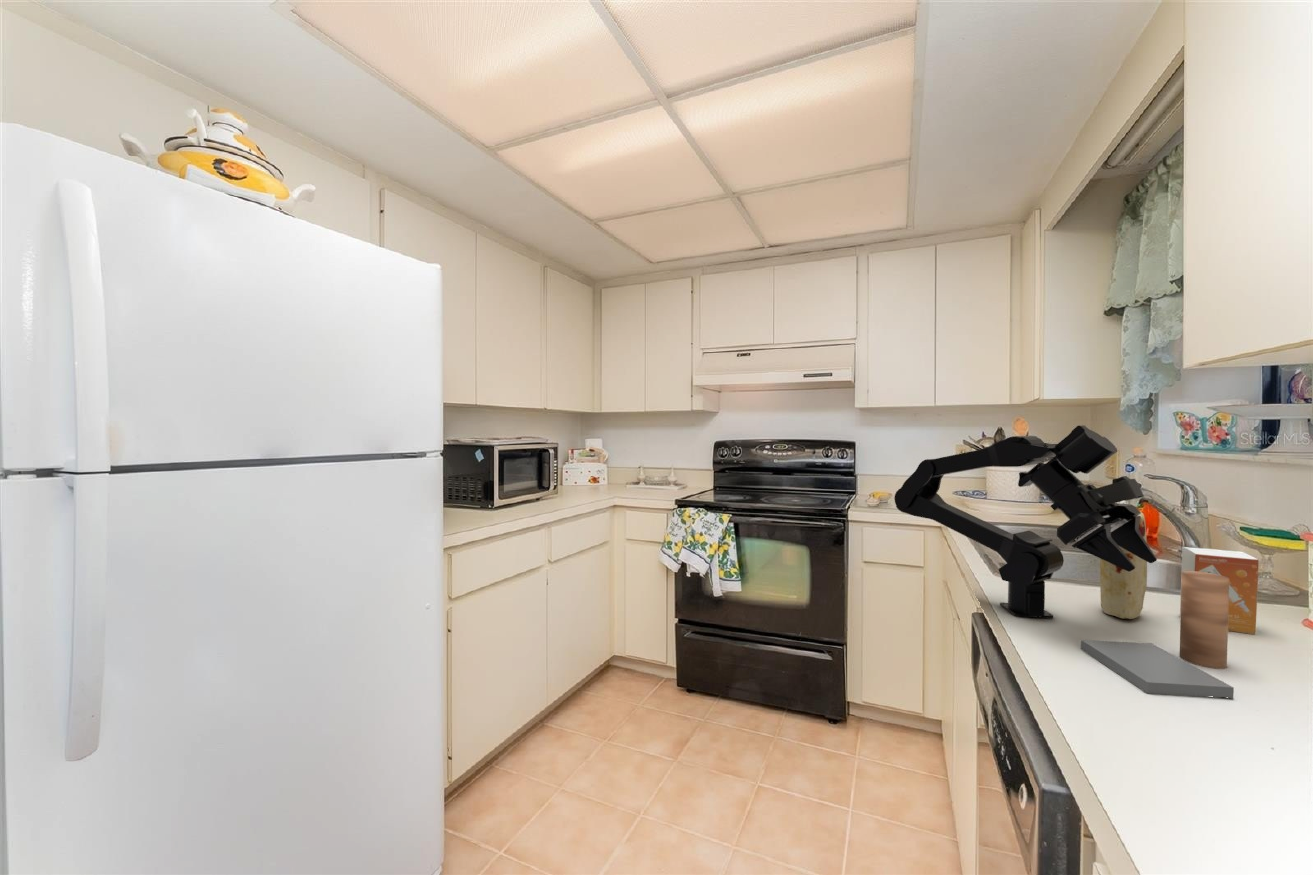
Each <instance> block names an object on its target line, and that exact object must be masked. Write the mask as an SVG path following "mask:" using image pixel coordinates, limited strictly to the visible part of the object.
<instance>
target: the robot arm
mask: <svg viewBox="0 0 1313 875" xmlns="http://www.w3.org/2000/svg"><path fill="white" fill-rule="evenodd" d="M1117 452H1118V449H1117V447H1116V446H1115V445H1114V443H1113V442H1111V440H1109V439H1108V438H1107V437H1106V436H1102V435H1101V434H1099V433H1097V432H1096V431H1094V430H1092V429H1090V428H1088V427H1087V426H1086V425H1083V424H1082V425H1077V426H1075V427H1074V428H1073V429H1072V430H1071V432H1070V433H1068V435H1067V436H1064V438H1062V439H1061V441H1059V442H1058V443H1049V442H1045V441H1043V440H1042V438H1040V437H1038V436H1035V435H1016V436H1009V437H1007V438H1003V439H1001V440H999V441H996V442H994V443H992V444H991V445H989V446H987V447H984V448H981V449H976V450H972V451H971V450H970V451H967V452H962V453H956V454H952V455H947V456H941V457H937V458H930V459H928V458H927V459H924V460H922V461H921V462H920V463H919V464H918V465H917V468H916V470H915V471H914V472H913V473H912V474H910V476H908V478H906V480H905V481H904V482H903V483H902V486H901V487H900V488H898V490H896V491H895V494H894V504H895V507H896V509H897V510H898V511H900V512H901V513H903V514H908V515H910V516H913V517H917V518H923V519H929V520H932V521H935V522H937V523H939V524H940V525H943V526H944V527H947V528H949V529H951V530H952V531H954V532H956V533H958V534H960V535H962V536H964V537H965V538H968V539H970V540H973V541H974V542H976V543H978V544H980V545H982V546H984V547H986V548H989V549H990V550H992V551H994V552H996V553H997V554H998V555H1000V557H1001V558H1002V559H1003V560H1004V561H1005V562H1006V563H1005V564H1004V565H1003V566H1001V567H1000V568H999V569H998V572H999V575H1000V577H1001V580H1002V581H1004V582H1007V585H1008V586H1007V602H999V606H1001V607H1002V608H1004V610H1007V611H1008V612H1009V613H1010V614H1012V615H1013V616H1014V617H1019V618H1020V617H1022V618H1040V619H1046V618H1047V619H1054V615H1053V614H1052V613H1050V612H1049V611H1047V610H1045V609H1046V608H1045V606H1046V605H1045V604H1046V602H1045V600H1046V593H1045V592H1046V591H1045V588H1046V587H1045V586H1046V584H1045V583H1046V582H1045V581H1047V580H1050V579H1052V577H1053V575H1054V573H1056V572H1058V571H1059V570H1061V568H1062V567H1063V566H1064V561H1065V560H1064V555H1063V553H1062V551H1061V548H1059V547H1058V545H1056V544H1054V543H1051V542H1053V539H1052V538H1050V539H1049V538H1045V537H1042V536H1040V535H1039V534H1037V533H1035V532H1034V531H1032V530H1023V531H1020V532H1016V533H1012V532H1009V531H1007V530H1004V529H1002V528H1000V527H998V526H996V525H994V524H991V523H990V522H987V521H986V520H983V519H981V518H979V517H977V516H975V515H973V514H970V513H968V512H966V511H964V510H962V509H959V508H957V507H955V506H953V505H951V504H949V503H947V502H945V500H944V499H943V498H942V497H941V495H940V494H938V492H939V491H940V487H941V483H942V479H943V477H944V475H950V474H956V473H963V472H967V471H973V470H977V469H985V468H990V467H999V468H1000V467H1002V468H1006V467H1007V468H1009V467H1010V468H1011V467H1013V468H1014V467H1015V468H1016V467H1017V468H1018V467H1026V466H1027V467H1029V466H1033V468H1031V469H1030V470H1029V471H1020V472H1018V476H1019V477H1018V478H1019V479H1018V483H1017V486H1018V487H1020V488H1022V487H1023V488H1024V487H1030V486H1031V485H1032V484H1033V485H1034V487H1036V488H1037V490H1039V491H1040V492H1041V493H1042V494H1043V495H1044V496H1045V497H1046V498H1047V499H1048V500H1049V501H1051V502H1052V504H1051V505H1050V508H1052V510H1054V511H1061V513H1063V515H1064V516H1065V517H1067V519H1068V520H1067V521H1066V522H1064V523H1062V524H1061V525H1060V526H1059V527H1056V537H1057V538H1058V539H1059V540H1060V541H1061V542H1062V543H1063V544H1064V545H1065V546H1068V545H1071V547H1072V548H1074V549H1078V550H1081V551H1083V552H1085V553H1088V554H1090V555H1092V556H1095V557H1097V558H1099V559H1100V558H1101V559H1103V560H1105V561H1107V562H1109V563H1111V564H1113V565H1116V566H1118V567H1120V568H1122V569H1124V570H1126V571H1128V572H1130V571H1132V570H1134V569H1135V566H1134V565H1133V563H1132V562H1131V561H1130V560H1129V558H1128V557H1127V556H1126V555H1125V553H1124V552H1123V551H1122V550H1121V548H1120V547H1122V548H1124V549H1125V550H1127V551H1129V552H1131V553H1132V554H1134V555H1136V556H1138V557H1139V558H1141V559H1143V560H1145V561H1147V563H1149V564H1153V563H1155V562H1157V561H1158V559H1157V556H1156V555H1155V554H1154V553H1153V550H1152V549H1151V548H1150V545H1149V544H1148V542H1147V543H1146V541H1145V539H1144V538H1143V536H1142V535H1141V533H1140V531H1139V522H1140V520H1141V516H1138V515H1140V514H1141V512H1142V511H1140V510H1139V509H1138V508H1136V506H1135V505H1133V504H1130V503H1121V502H1126V501H1131V500H1135V499H1140V498H1143V497H1145V495H1144V493H1143V491H1142V490H1141V488H1143V485H1142V484H1141V483H1140V482H1138V481H1137V480H1136V478H1130V477H1128V476H1127V475H1122V476H1120V477H1116V478H1112V483H1110V484H1107V485H1103V486H1099V487H1096V486H1095V485H1094V484H1091V483H1087V484H1084V482H1082V480H1080V479H1079V478H1078V477H1077V476H1076V475H1075V474H1078V473H1083V474H1086V475H1087V474H1088V475H1089V473H1091V472H1093V470H1095V469H1096V468H1098V467H1100V465H1101V464H1103V463H1104V462H1106V461H1107V460H1108V459H1110V458H1111V457H1112V456H1114V455H1115V454H1117ZM1047 458H1048V459H1049V458H1051V459H1049V461H1047V462H1045V463H1044V460H1045V459H1047ZM1117 503H1120V504H1117ZM1136 516H1137V517H1136ZM1076 540H1077V542H1076ZM1119 546H1120V547H1119Z"/></svg>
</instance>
